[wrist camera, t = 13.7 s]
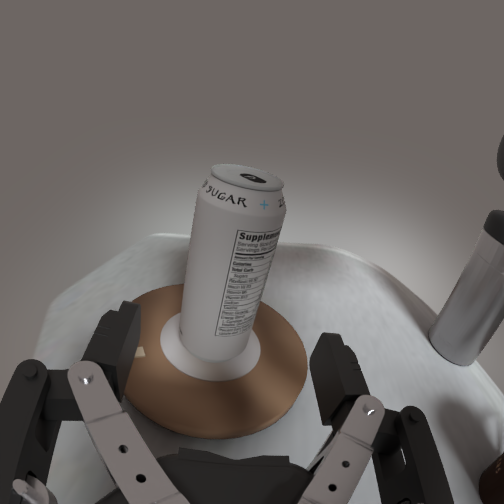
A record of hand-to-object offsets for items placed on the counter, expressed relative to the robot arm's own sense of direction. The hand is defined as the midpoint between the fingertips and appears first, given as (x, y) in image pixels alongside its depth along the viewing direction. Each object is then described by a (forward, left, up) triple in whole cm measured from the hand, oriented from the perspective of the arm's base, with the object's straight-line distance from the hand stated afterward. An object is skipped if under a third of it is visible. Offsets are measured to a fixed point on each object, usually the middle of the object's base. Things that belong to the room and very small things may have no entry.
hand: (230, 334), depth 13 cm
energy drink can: (-4, -9, -11) cm, 15 cm away
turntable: (-4, -9, -12) cm, 16 cm away
